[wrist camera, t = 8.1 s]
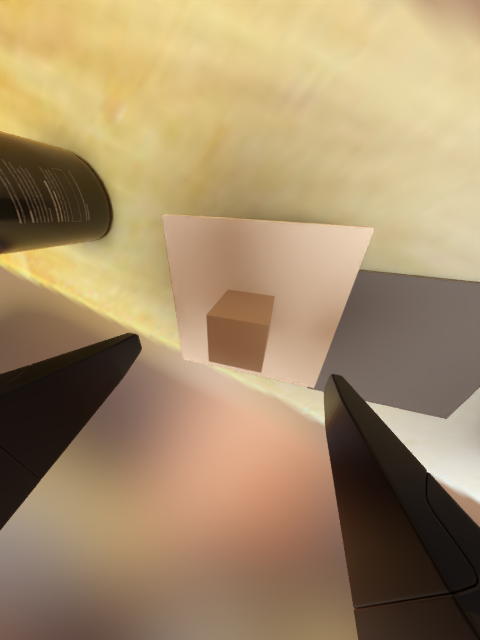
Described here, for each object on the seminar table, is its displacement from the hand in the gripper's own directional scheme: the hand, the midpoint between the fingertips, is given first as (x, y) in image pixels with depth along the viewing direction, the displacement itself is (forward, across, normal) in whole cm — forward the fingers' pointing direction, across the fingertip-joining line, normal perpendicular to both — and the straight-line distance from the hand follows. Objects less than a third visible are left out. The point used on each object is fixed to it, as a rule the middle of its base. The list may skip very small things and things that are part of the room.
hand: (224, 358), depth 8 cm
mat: (+10, -13, +4) cm, 17 cm away
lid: (+6, 0, 0) cm, 6 cm away
